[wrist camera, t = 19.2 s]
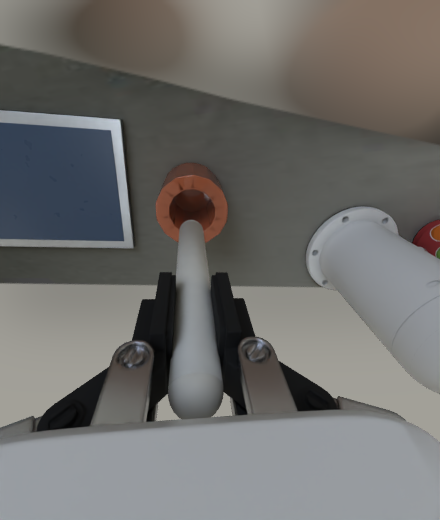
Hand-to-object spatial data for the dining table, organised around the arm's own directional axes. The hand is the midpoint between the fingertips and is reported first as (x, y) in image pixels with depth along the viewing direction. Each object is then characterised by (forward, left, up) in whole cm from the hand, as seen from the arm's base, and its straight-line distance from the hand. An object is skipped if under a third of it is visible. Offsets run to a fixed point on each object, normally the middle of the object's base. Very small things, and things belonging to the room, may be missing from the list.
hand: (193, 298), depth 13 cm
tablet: (+17, 0, -20) cm, 26 cm away
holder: (0, 0, -20) cm, 20 cm away
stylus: (0, 0, -8) cm, 8 cm away
